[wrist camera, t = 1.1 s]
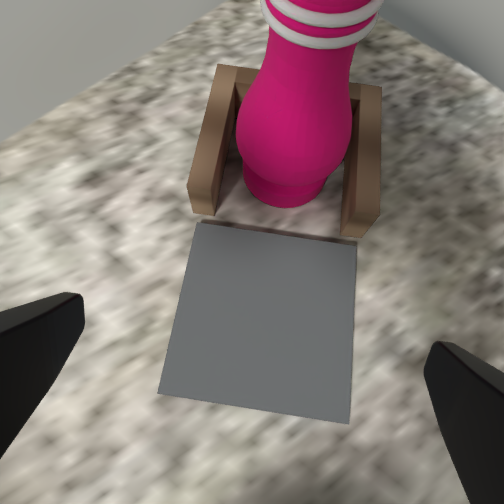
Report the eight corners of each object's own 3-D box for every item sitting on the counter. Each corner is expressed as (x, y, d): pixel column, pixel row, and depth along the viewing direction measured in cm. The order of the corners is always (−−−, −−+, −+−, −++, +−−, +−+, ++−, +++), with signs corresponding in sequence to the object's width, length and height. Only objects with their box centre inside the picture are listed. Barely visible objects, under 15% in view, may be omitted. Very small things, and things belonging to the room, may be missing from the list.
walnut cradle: (361, 238, 25) (379, 215, 21) (193, 212, 25) (186, 186, 22) (365, 121, 28) (381, 86, 25) (220, 100, 29) (217, 63, 25)
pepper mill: (217, 160, 27) (169, -377, 8) (294, 120, 28) (402, -401, 10) (272, 232, 24) (379, -262, 6) (351, 184, 26) (629, -318, 8)
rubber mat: (346, 423, 20) (349, 424, 20) (159, 393, 20) (157, 393, 20) (353, 249, 24) (356, 246, 24) (197, 225, 24) (196, 222, 24)
